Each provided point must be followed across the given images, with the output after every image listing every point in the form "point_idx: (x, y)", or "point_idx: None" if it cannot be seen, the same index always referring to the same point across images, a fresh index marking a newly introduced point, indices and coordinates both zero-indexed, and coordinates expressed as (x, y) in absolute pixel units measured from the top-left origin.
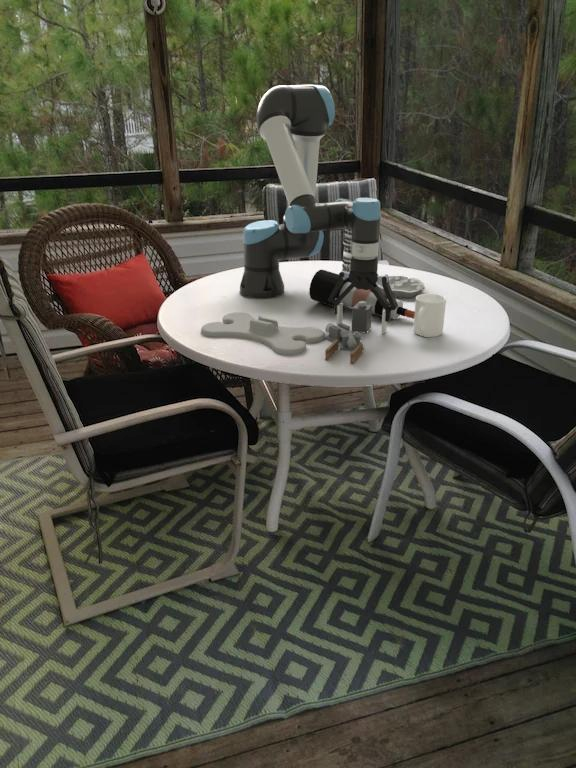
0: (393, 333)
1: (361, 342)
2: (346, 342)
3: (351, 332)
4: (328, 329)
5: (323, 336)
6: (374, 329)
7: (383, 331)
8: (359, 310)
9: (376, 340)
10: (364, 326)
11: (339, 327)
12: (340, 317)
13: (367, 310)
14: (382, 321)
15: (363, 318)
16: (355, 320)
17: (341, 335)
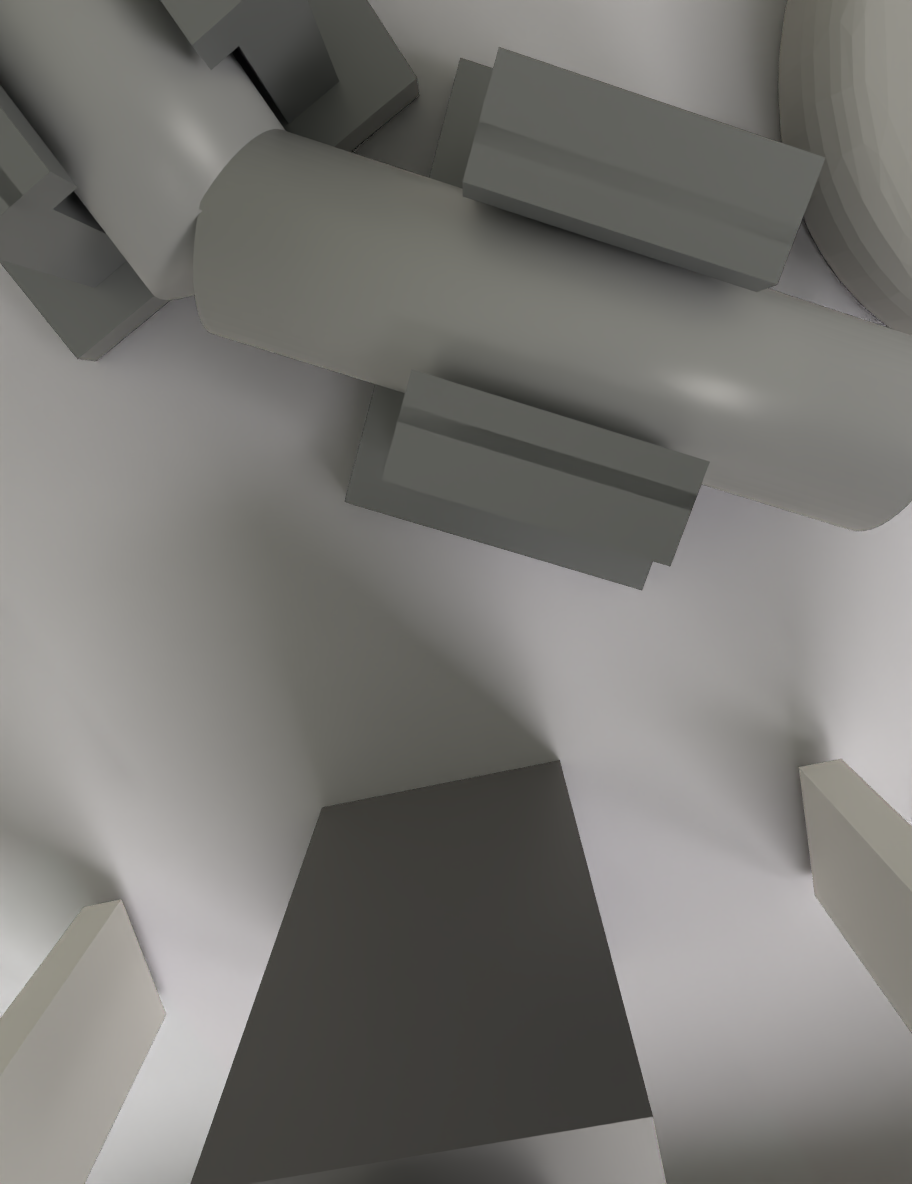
0: (9, 990)
1: (66, 323)
2: None
3: (185, 224)
4: (838, 311)
5: (805, 89)
6: None
7: (77, 926)
8: (429, 1108)
9: (19, 634)
10: (338, 861)
11: (597, 347)
12: (883, 911)
13: (194, 1176)
14: (4, 1061)
15: (341, 967)
16: (512, 887)
17: (426, 177)
